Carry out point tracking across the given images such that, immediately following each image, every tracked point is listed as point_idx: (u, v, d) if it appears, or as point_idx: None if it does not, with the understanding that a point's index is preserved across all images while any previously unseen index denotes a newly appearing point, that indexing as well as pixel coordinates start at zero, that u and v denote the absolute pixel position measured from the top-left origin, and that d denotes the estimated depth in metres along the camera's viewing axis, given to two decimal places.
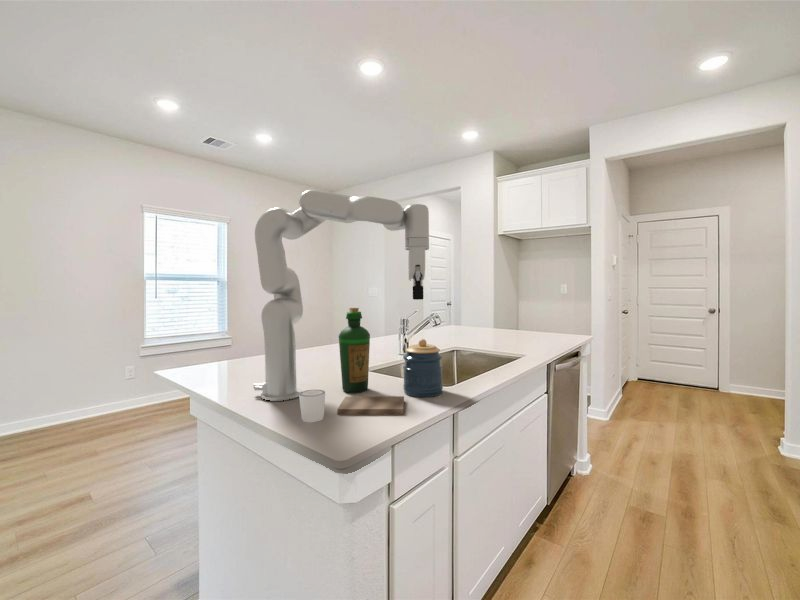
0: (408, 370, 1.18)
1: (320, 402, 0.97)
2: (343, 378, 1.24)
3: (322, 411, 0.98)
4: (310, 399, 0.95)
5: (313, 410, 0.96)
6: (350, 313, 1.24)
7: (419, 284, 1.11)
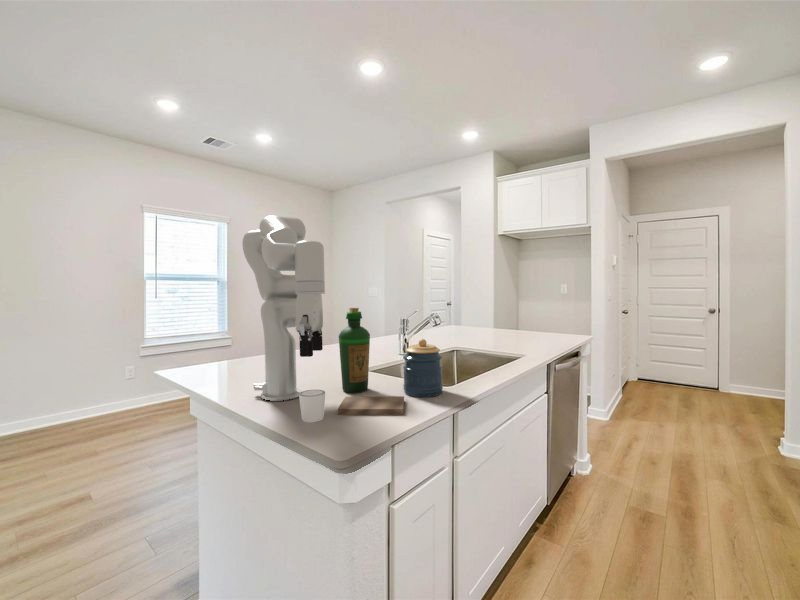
0: (408, 370, 1.18)
1: (320, 402, 0.97)
2: (343, 378, 1.24)
3: (322, 411, 0.98)
4: (310, 399, 0.95)
5: (313, 410, 0.96)
6: (350, 313, 1.24)
7: (306, 339, 0.92)
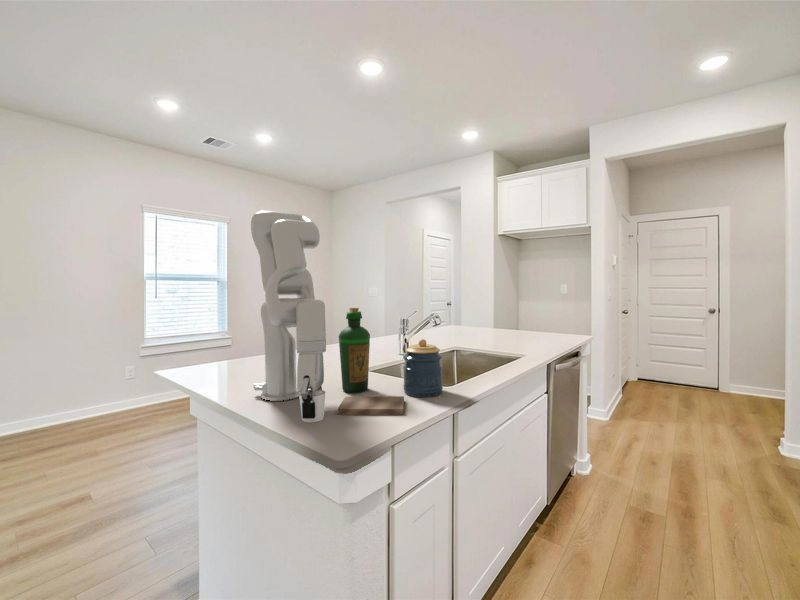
0: (408, 370, 1.18)
1: (320, 402, 0.97)
2: (343, 378, 1.24)
3: (322, 411, 0.98)
4: None
5: None
6: (350, 313, 1.24)
7: (308, 402, 0.94)
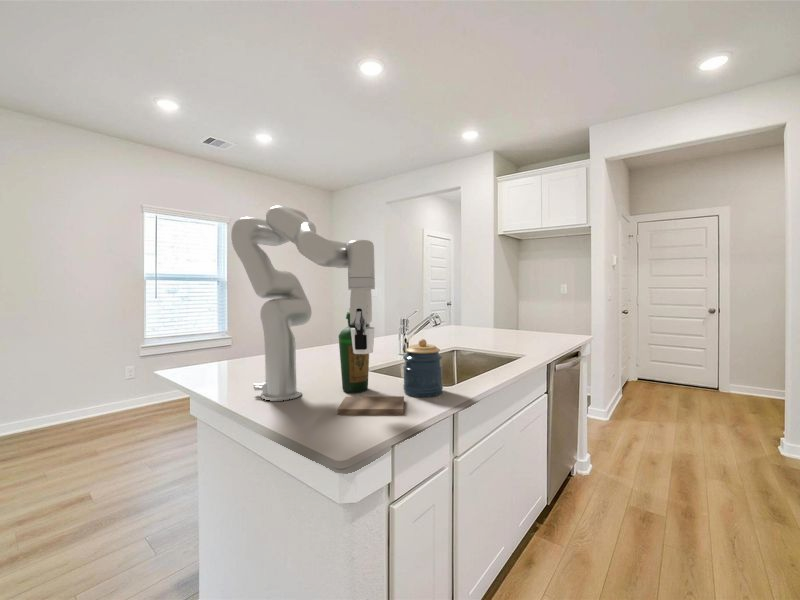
0: (408, 370, 1.18)
1: (371, 335, 1.03)
2: (343, 378, 1.24)
3: (372, 345, 1.04)
4: None
5: None
6: None
7: (361, 334, 1.00)
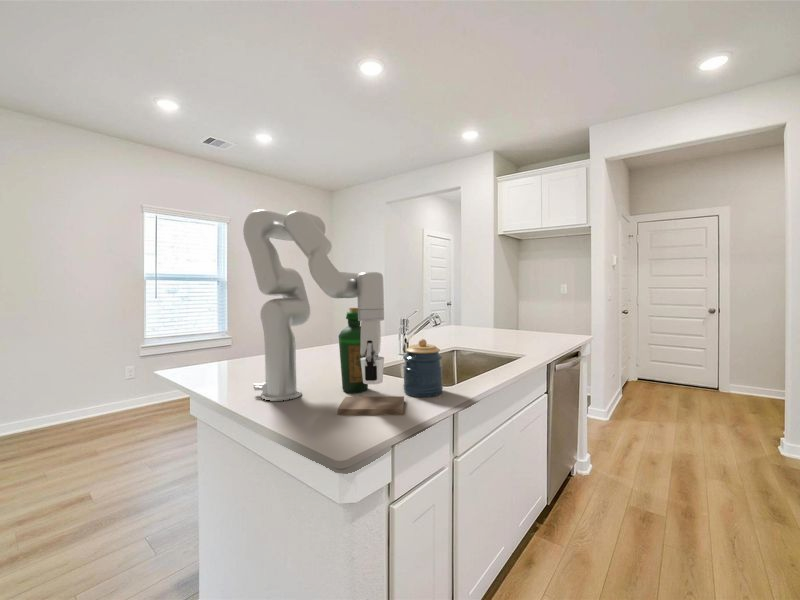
0: (408, 370, 1.18)
1: (380, 366, 1.05)
2: (343, 378, 1.24)
3: (382, 375, 1.06)
4: None
5: None
6: (350, 313, 1.24)
7: (371, 365, 1.02)
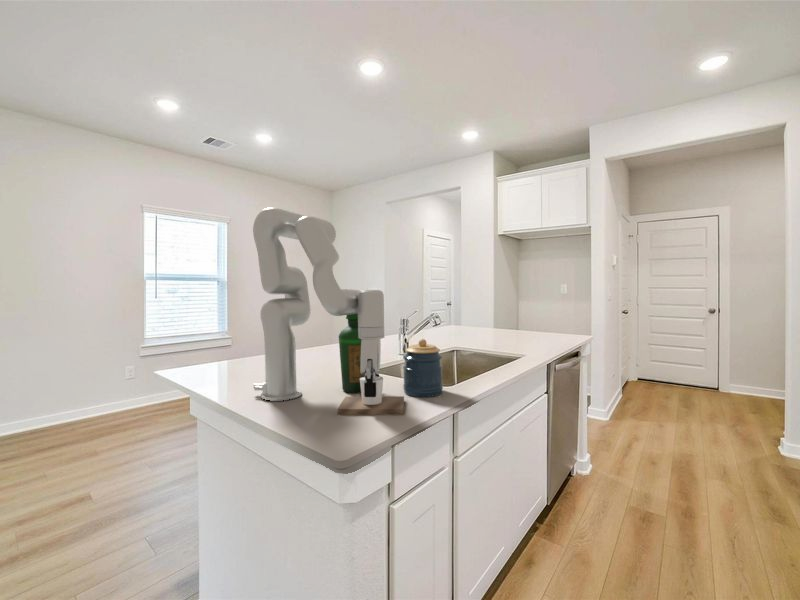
0: (408, 370, 1.19)
1: (380, 386, 1.05)
2: (343, 378, 1.24)
3: (381, 395, 1.06)
4: None
5: None
6: None
7: (371, 381, 1.01)
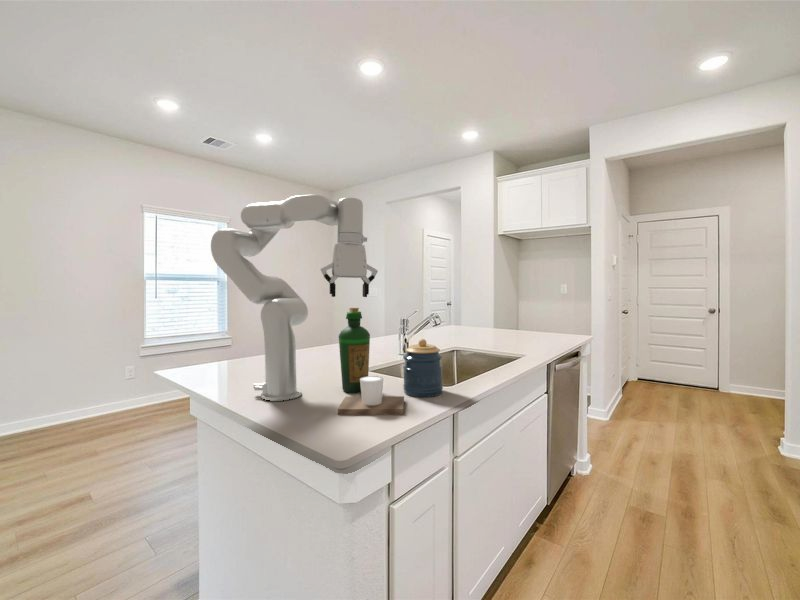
0: (408, 370, 1.18)
1: (380, 387, 1.05)
2: (343, 378, 1.24)
3: (381, 395, 1.06)
4: (371, 383, 1.04)
5: (374, 394, 1.04)
6: (350, 313, 1.24)
7: (328, 281, 1.10)
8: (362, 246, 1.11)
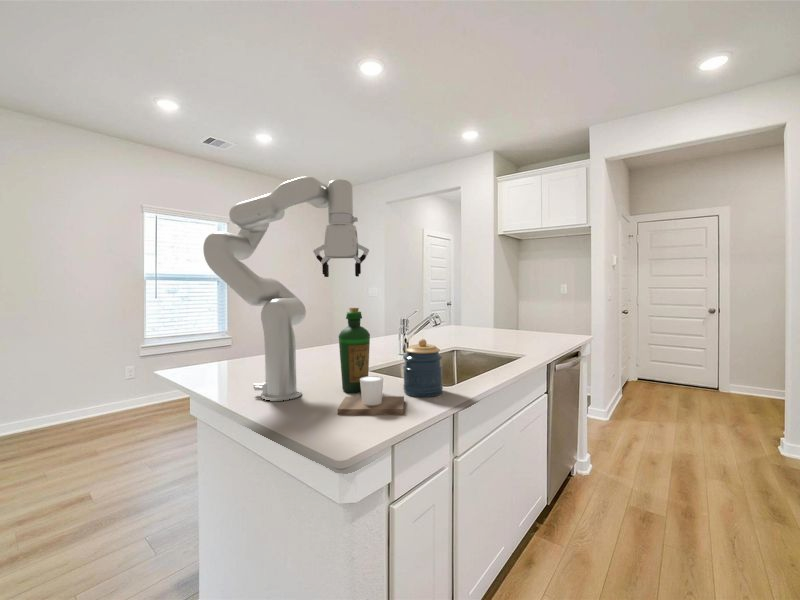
0: (408, 370, 1.18)
1: (380, 387, 1.05)
2: (343, 378, 1.24)
3: (381, 395, 1.06)
4: (371, 383, 1.04)
5: (374, 394, 1.04)
6: (350, 313, 1.24)
7: None
8: (350, 226, 1.13)
